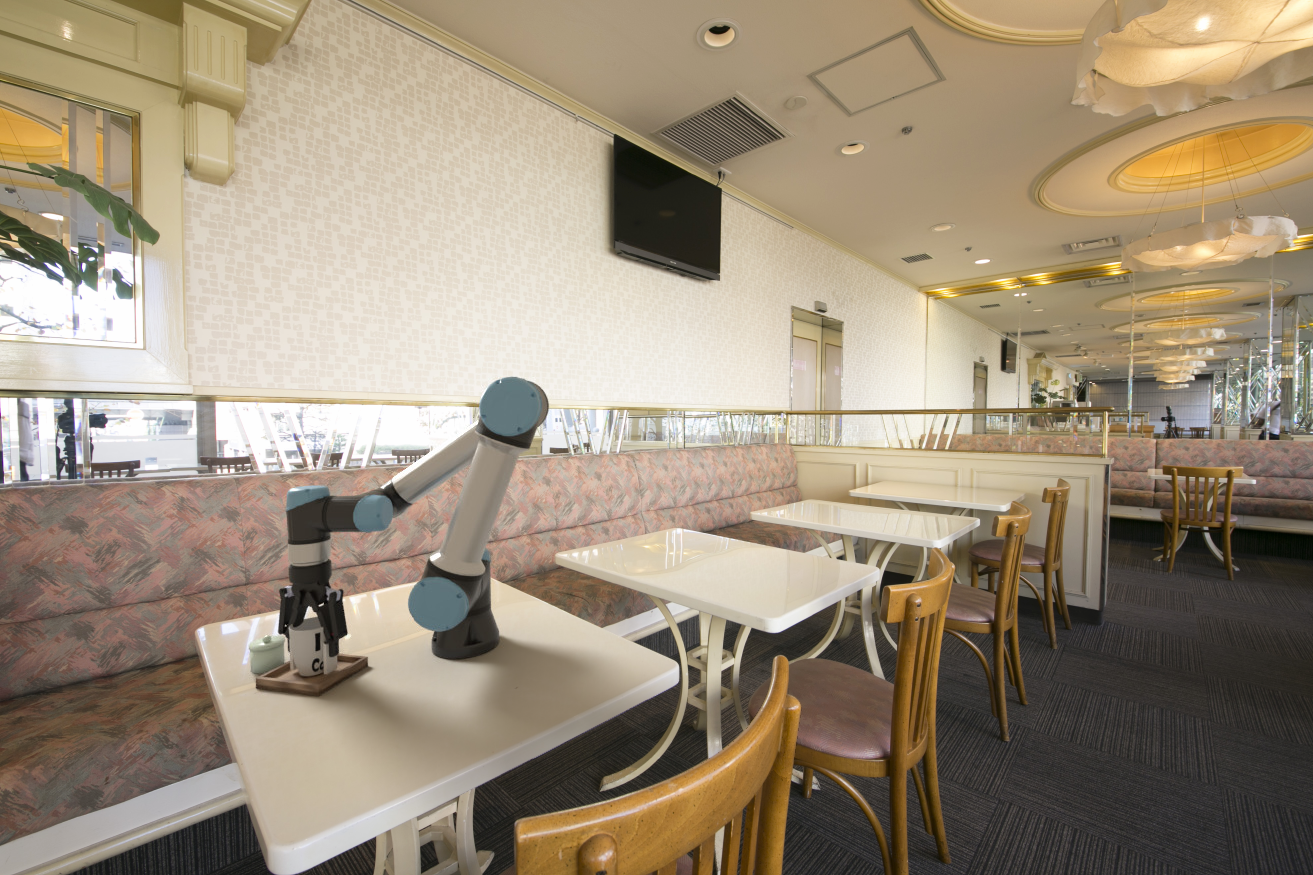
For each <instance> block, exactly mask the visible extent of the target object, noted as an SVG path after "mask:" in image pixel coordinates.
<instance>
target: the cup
mask: <svg viewBox="0 0 1313 875" xmlns="http://www.w3.org/2000/svg"><path fill="white" fill-rule="evenodd" d="M289 635H290V644H291V650H292V654H293V658H294V662H295V665H296V667H297V669H298V672H299V674H300V675H301V676H313V675H317V674H320V673H322V672H324V662H323V643H324V642H325V641H326V638H325V635H324V633H323V627H321V625H320V622H319V619H318V617H317V616H313V617H311V616H310V617H307V618H304V621H303V623H302V624H301V625H300V626H298V627H293V624H291V625H290V626H289ZM332 635H333V633H332Z"/></svg>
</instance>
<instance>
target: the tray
mask: <svg viewBox="0 0 1313 875" xmlns="http://www.w3.org/2000/svg"><path fill="white" fill-rule="evenodd" d="M368 666H369V656H365V655H364V656H363V655H355V654H345V653H339V654H338V655H337V669H335V670H334V671H332V672H330V673H329V674H324V672H322V673H320V674H317V675H313V676H301V675H300V674H299V672H298V669H295V670H290V660H288V661H287V662H286V661H285V664H283V665H281V666H279V667H277V668H275V669H273V670H271V671H269V672H267V673H262V674H260V675H259V676H257V677H256V678H255V688H256V689H260V690H261V689H262V690H267V691H277V692H285V693H291V694H299V695H306V696H313V697H314V696H315V697H320V696H321V695H324V694H325V693H326V692H328V691H330V690H332V689H333V688H335V687H336V686H338V685H340V684H341V683H343V682H344V681H346V680H347V679H349V678H351V677H352V676H354V675H356V674H357V673H359V672H361V671H362V670H364V669H365V668H367V667H368Z"/></svg>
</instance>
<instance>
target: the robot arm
mask: <svg viewBox="0 0 1313 875" xmlns="http://www.w3.org/2000/svg"><path fill="white" fill-rule="evenodd" d="M549 409H550V403H549V399H548V396H547V394H546V392H545V391H544V389H543V388H542V387H541V386H539V385H538V384H537V383H535V382H533V381H531V380H526V379H525V378H522V377H521V378H520V377H518V376H507V377H506V376H505V377H502V378H499V379H497V380H494V381H493V382H491V383H490V384H489V385H488V386H487V387H486V388H485V389H484V391H483V392H482V394H481V397H480V398H479V407H478V410H479V418H477V419H476V420H475V421H474V422H472V423H470V424H469V425H468V426H467V427H465V428H463V429H462V430H460V431H459V432H458V433H456V434H455V435H453V436H452V437H450V438H448V439H446V441H445V442H443V443H442V444H440V445H438V446H437V447H436V448H434V449H433V450H431V451H430V452H429V453H427V454H426V455H424V456H422V457H421V458H420V459H418V460H416V462H414V463H413V464H411V465H410V466H408V467H407V468H406V469H404V470H403V471H401V472H399V473H398V474H397V475H395V476H393V477H392V478H391V479H390V480H388V481H386V482H385V483H383V484H382V485H380V486H379V487H377V488H376V489H373V490H370V491H366V492H363V493H360V494H355V495H331V493H330V489H329V487H328V486H327V485H317V484H316V485H302V486H296V487H293V488H292V487H291V488H290V489H289V490H288V491H287V493H286V506H285V514H286V523H287V524H286V526H287V527H286V528H287V562H289V563H290V564H289V565H288V582H289V583H290V585H287V586H284V587H281V588H279V590H278V592H279V597H280V598H279V599H280V606H279V615H278V624H277V625H278V627H277V633H278V635H279V636H282V635H284V637H285V639H286V640H287V641H286V642H287V652H288V653H289V661H290V670H295V669H297V667H296V665H295V662H294V658H293V654H292V650H291V644H290V635H289V626H290V625H291V624H293V627H298V626H300V625H301V624H302V623H303V621H304V619H306V618H305V617H306V614H307V611H308V609H309V607H310V608H311V610H312V612H313V613H315V614H316V617H318V619H319V622H320V625H321V627H323V633H324V635H325V638H326V641H325V642H324V643H323V662H324V674H329V673H330V672H332V671H334V670H335V669H337V655H338V654H340V640H341V639H343V638H344V637H347V636H348V634H349V632H348V631H349V630H348V627H347V620H346V614H345V608H344V601H343V599H344V593H345V592H344V589H343V588H339V589H336V588H335V589H334V588H332V586H331V584H330V580H331V577H332V575H333V568H332V565H333V564H332V560H331V559H330V558H331V557H332V548H331V547H332V546H331V545H332V544H331V541H332V540H331V536H332V535H331V533H366V534H367V533H368V534H369V533H372V532H373V533H374V532H383V531H385V530H388V528H389V526H390V524H392V521H393V519H395V518H397V517H399V516H401V515H402V514H403V513H405V511H406V510H407V509H408V508H410V507H412V506H413V505H414V504H415V503H417V502H418V501H420V500H421V499H423V498H425V496H427V495H429V494H430V493H431V492H433V491H434V490H435V489H437V488H438V487H440V486H442V485H443V484H444V483H446V482H447V481H449V480H450V479H452V478H453V477H454V476H456V475H458V474H459V473H460V472H462V471H463V470H465V469H466V468H468V467H469V468H468V471H467V474H466V477H465V479H464V483H463V484H462V488H461V491H460V493H459V496H458V498H457V502H456V503H455V504H456V505H455V507H454V509H453V513H452V516H451V518H450V521H449V524H448V526H447V529H446V532H445V535H444V537H443V541H442V542H441V545H440V548H439V549H436V550H435V551H433V552H431V553H430V555H429V557H428V559H427V562H426V564H425V566H424V570H423V572H422V575H421V578H420V580H418V581H417V583H416V584H414V585H413V588H412V587H411V588H412V589H411V591H410V593H409V594H408V599H407V607H408V611H409V615H411V617H412V618H413V620H414V622H415V623H416V624H417V625H419V627H421V628H424V629H425V630H428V631H431V632H433V634H432V638H431V653H433V655H435V656H437V657H440V658H443V659H450V660H451V659H456V660H457V659H466V658H472V657H476V656H479V655H483V654H485V653H488V652H490V651H492V650H493V649H495V648H496V647H497V646H498V645H499V643H500V630H499V628H498V624H497V622H496V619H495V616H494V614H493V610H492V585H491V584H492V582H491V580H492V578H491V576H492V574H491V563H492V560H491V555H490V553H491V552H490V550H489V549H488V548H487V544H488V543H489V539H490V536H491V534H492V532H493V528H494V526H495V523H496V520H497V517H498V515H499V512H500V509H501V508H502V507H501V506H502V504H503V502H504V498H505V495H506V493H507V490H508V487H509V484H510V482H511V479H512V476H513V474H514V471H515V468H516V466H517V462H518V460H519V457H520V456H521V454H523V453H526V452H527V451H529V450H530V448H531V445H532V443H533V440H534V437H535V435H536V432H537V430H538V428H539V427H540V426H542V425H543V424H544V422H545V421H546V419H547V416H548V414H549V411H550V410H549ZM332 633H333V635H332Z"/></svg>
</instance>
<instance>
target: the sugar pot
mask: <svg viewBox="0 0 1313 875" xmlns="http://www.w3.org/2000/svg"><path fill="white" fill-rule="evenodd" d="M285 643H286V637H285V636H283V635H270V634H269V635H268V634H267V635H264V636H263V637H261V638H257V639H255V640H253V641H251V642H250V643H249V644H248V650H249V659H250V660H249V661H250V672H251V673H252V674H257V675H259V674H260V675H262V674H265V673H267V672H269V671H271V670H273V669H275V668H277V667H279V666H281V665H283V664H285V663H286V661H285V660H286V659H285Z"/></svg>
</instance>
